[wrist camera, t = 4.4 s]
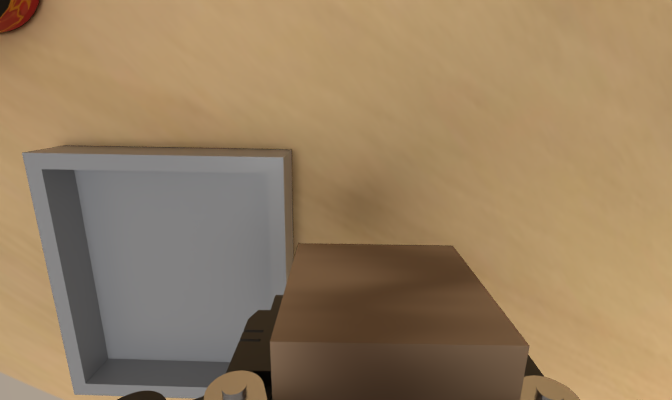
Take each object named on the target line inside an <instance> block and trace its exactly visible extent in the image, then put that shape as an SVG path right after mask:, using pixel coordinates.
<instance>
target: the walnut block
mask: <svg viewBox="0 0 672 400" xmlns="http://www.w3.org/2000/svg"><path fill="white" fill-rule="evenodd" d="M528 351H529V345H528V343H527V342H526V341H525V340H524V338H523V337H522V336H521V334H520V333H519V332H518V330H517V329H516V328H515V326H514V325H513V324H512V323H511V321H510V320H509V319H508V317H507V316H506V315H505V313H504V312H503V311H502V309H501V308H500V307H499V306H498V304H497V303H496V302H495V300H494V299H493V298H492V296H491V295H490V294H489V292H488V291H487V290H486V289H485V287H484V286H483V285H482V283H481V282H480V281H479V279H478V278H477V277H476V275H475V274H474V273H473V272H472V270H471V269H470V268H469V266H468V265H467V264H466V262H465V261H464V260H463V258H462V257H461V256H460V255H459V253H458V252H457V251H456V249H455V248H454V247H453V246H439V245H370V244H301V243H298V246H297V250H296V253H295V257H294V260H293V264H292V267H291V270H290V274H289V277H288V281H287V284H286V288H285V291H284V295H283V298H282V301H281V305H280V308H279V312H278V315H277V319H276V322H275V326H274V329H273V332H272V336H271V339H270V357H271V380H272V400H520V397H521V391H522V385H523V380H524V374H525V368H526V363H527V357H528Z"/></svg>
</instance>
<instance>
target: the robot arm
mask: <svg viewBox="0 0 672 400" xmlns="http://www.w3.org/2000/svg"><path fill="white" fill-rule="evenodd" d="M282 298H283V295H275V298H274V301H273V304H272V307H271V310H258V311H257V312H256V313H254V314H253V315H252V316H251V317H250V318H249V319H248V321H247V323H246V326H245V328H244V332H243V333H242V335H241V338H240V341H239V342H238V345H237V347H236V350H235V352H234V354H233V357H232V359H231V362H230V364H229V367H228V369H227V371H226V374H224V375H222V376H220V377H218V378H217V379H215V380H214V381H213V382H212V383H211V384H210V385H209V386H208V387H207V389H206V391H205V394H204V396H202V397H199V398H197V399H194V400H272V380H271V357H270V339H271V336H272V332H273V329H274V326H275V322H276V319H277V315H278V312H279V308H280V305H281V301H282ZM118 400H166V399H165V397H164V396H163V395H162V394H160V393H158V392H155V391H138V392H134V393H131V394H128V395H126V396H124V397H121V398H120V399H118ZM520 400H580V399H579V397H578V396H577V395H576V394H575V393H574V392H573V391H572V390H570V389H569V388H568V387H566V386H565V385H563V384H561V383H559V382H557V381H555V380H553V379H550V378H547V377H544V376H543V374H542V373H541V371H540V370H539V369H538V367H537V366H536V365H535V363H534V362H533V361H532V359H531V358H530V356H529V355H528V357H527V363H526V368H525V374H524V380H523V385H522V391H521V397H520Z"/></svg>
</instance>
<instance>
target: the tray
mask: <svg viewBox="0 0 672 400" xmlns="http://www.w3.org/2000/svg"><path fill="white" fill-rule="evenodd" d="M22 155H23V160H24V164H25V169H26V173H27V178H28V183H29V187H30V192H31V196H32V201H33V206H34V210H35V215H36V219H37V224H38V229H39V233H40V238H41V242H42V247H43V252H44V256H45V261H46V265H47V270H48V275H49V279H50V284H51V289H52V293H53V298H54V302H55V307H56V312H57V316H58V321H59V325H60V330H61V335H62V339H63V344H64V348H65V353H66V358H67V362H68V367H69V371H70V376H71V381H72V385H73V390H74V394H75V395H106V396H126V395H128V394H131V393H134V392H138V391H155V392H158V393H160V394H162V395H163V396H164V397H169V398H199V397H202V396H204V394H205V391H206V389H207V387H208V386H209V385H210V384H211V383H212V382H213V381H214V380H215V379H217V378H218V377H220V376H222V375H224V374H226V371H227V369H228V367H229V364H230V362H231V359H232V357H233V354H234V352H235V350H236V347H237V345H238V342H239V341H240V338H241V335H242V333H243V332H244V328H245V326H246V323H247V321H248V319H249V318H250V317H251V316H252V315H253V314H254V313H256V312H257V311H258V310H271V307H272V304H273V301H274V298H275V295H284V291H285V288H286V284H287V281H288V277H289V274H290V270H291V267H292V264H293V260H294V256H293V202H292V149H237V148H180V147H124V146H67V145H64V146H58V147H52V148H47V149H41V150H35V151H29V152H23V153H22Z"/></svg>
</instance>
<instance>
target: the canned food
mask: <svg viewBox="0 0 672 400" xmlns="http://www.w3.org/2000/svg"><path fill="white" fill-rule="evenodd" d="M38 3H39V0H0V33H1V32H6V31H11V30H13V29H16V28H18V27H20V26H22V25H23V24H24V23H26V22H27V21H28V20H29V19H30V18H31V16H32V15H33V14H34V12H35V10H36V8H37V6H38Z"/></svg>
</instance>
